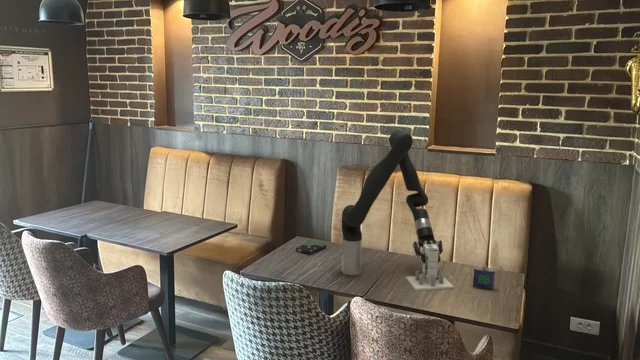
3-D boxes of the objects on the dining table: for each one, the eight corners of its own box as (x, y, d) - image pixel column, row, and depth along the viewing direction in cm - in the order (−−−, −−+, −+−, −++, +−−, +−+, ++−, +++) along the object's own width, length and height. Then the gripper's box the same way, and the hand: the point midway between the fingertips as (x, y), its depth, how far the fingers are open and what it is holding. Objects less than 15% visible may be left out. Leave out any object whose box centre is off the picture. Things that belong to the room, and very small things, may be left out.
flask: (493, 287, 239) (495, 265, 237) (494, 290, 236) (495, 268, 234) (472, 285, 242) (474, 263, 239) (472, 287, 239) (474, 265, 237)
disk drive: (310, 256, 278) (326, 249, 290) (310, 251, 278) (326, 244, 289) (295, 252, 284) (312, 245, 296) (295, 247, 284) (312, 240, 295)
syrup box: (421, 273, 245) (423, 244, 242) (434, 273, 246) (435, 243, 243) (425, 278, 240) (426, 248, 237) (437, 278, 240) (439, 248, 237)
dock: (415, 290, 235) (416, 279, 234) (405, 278, 249) (406, 267, 248) (453, 288, 238) (454, 277, 237) (441, 276, 251) (442, 265, 250)
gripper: (411, 226, 244) (418, 259, 235) (440, 225, 246) (449, 258, 237) (407, 234, 251) (414, 266, 242) (436, 232, 253) (444, 265, 244)
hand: (431, 262), depth 240 cm, fingers closed on syrup box, 6 cm apart
